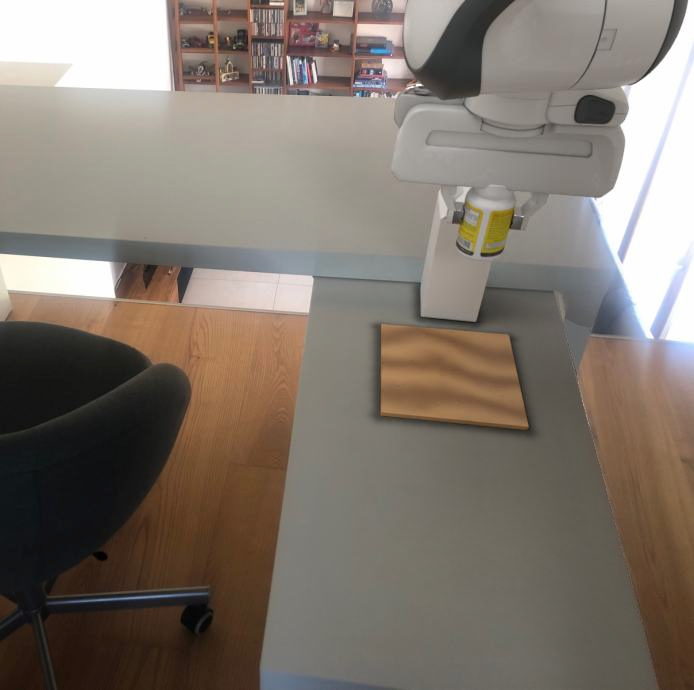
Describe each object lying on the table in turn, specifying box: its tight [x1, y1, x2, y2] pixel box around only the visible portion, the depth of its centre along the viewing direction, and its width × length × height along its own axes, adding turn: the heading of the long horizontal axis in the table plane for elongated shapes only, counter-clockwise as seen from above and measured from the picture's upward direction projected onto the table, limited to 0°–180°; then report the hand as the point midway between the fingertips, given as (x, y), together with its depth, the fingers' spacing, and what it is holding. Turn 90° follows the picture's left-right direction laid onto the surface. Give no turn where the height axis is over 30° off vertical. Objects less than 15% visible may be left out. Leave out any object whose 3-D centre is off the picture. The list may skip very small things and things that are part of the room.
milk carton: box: [419, 186, 493, 323], centre depth 88 cm, size 7×7×19 cm
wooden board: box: [380, 323, 530, 431], centre depth 83 cm, size 16×16×1 cm
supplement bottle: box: [456, 185, 517, 262], centre depth 69 cm, size 5×5×8 cm
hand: (485, 224), depth 70 cm, fingers closed on supplement bottle, 5 cm apart
